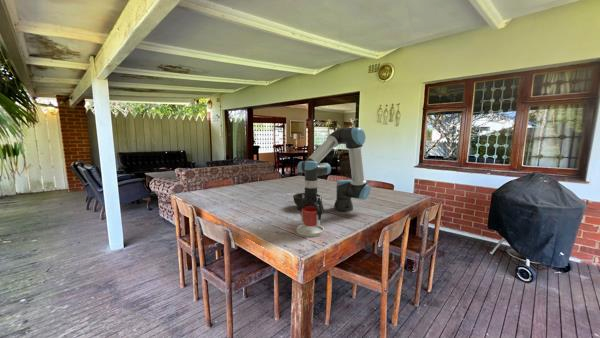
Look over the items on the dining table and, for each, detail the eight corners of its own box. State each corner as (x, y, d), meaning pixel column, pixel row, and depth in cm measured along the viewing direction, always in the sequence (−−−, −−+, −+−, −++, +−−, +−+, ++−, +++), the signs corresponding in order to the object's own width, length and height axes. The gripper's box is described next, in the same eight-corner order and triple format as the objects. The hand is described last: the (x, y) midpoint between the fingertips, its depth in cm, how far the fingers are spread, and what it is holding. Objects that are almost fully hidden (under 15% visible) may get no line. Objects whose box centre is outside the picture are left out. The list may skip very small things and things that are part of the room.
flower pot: (303, 228, 151) (303, 211, 150) (300, 221, 162) (300, 206, 161) (321, 226, 154) (321, 210, 152) (316, 220, 164) (316, 205, 163)
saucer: (306, 224, 170) (306, 222, 170) (329, 230, 161) (329, 227, 160) (291, 232, 156) (291, 229, 156) (315, 238, 147) (315, 235, 147)
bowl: (288, 206, 213) (288, 194, 212) (312, 203, 223) (312, 191, 221) (300, 213, 194) (300, 200, 193) (325, 210, 203) (325, 197, 202)
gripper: (291, 185, 158) (291, 221, 161) (324, 190, 145) (323, 228, 148) (298, 183, 164) (298, 218, 167) (330, 188, 152) (330, 225, 155)
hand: (310, 223), depth 158 cm, fingers closed on flower pot, 10 cm apart
